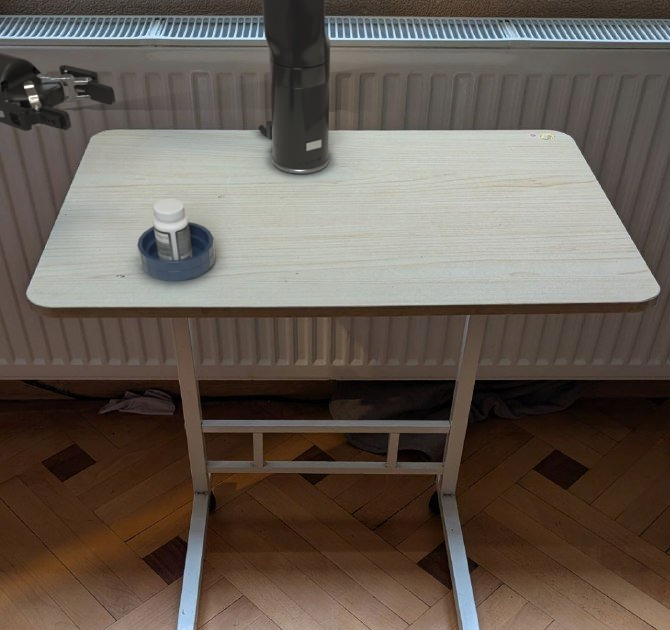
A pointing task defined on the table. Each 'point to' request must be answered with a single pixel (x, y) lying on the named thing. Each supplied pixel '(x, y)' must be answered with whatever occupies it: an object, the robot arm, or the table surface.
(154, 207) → the pill bottle
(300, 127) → the robot arm
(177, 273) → the dish
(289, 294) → the table surface
